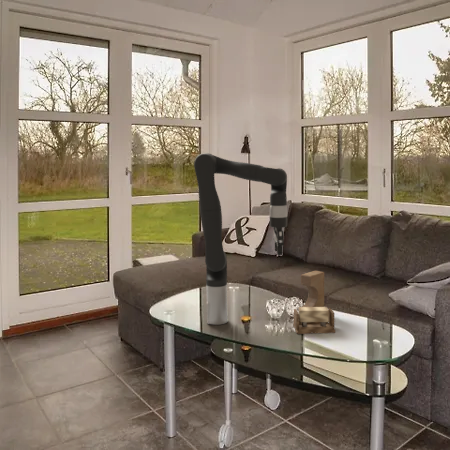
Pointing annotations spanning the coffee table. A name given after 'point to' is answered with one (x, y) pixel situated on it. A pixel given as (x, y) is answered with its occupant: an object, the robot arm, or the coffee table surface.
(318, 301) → the decorative block
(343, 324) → the coffee table surface
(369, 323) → the coffee table surface
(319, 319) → the plank
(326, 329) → the peg frame
